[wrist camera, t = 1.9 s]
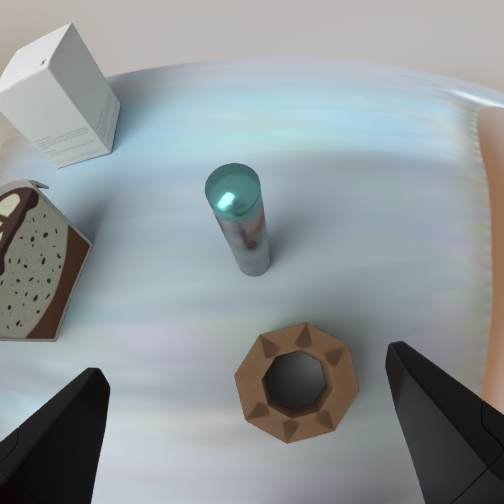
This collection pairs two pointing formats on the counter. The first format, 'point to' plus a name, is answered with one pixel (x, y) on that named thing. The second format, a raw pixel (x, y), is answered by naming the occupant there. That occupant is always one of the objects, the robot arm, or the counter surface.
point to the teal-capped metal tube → (240, 215)
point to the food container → (36, 263)
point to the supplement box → (60, 98)
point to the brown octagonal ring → (307, 417)
